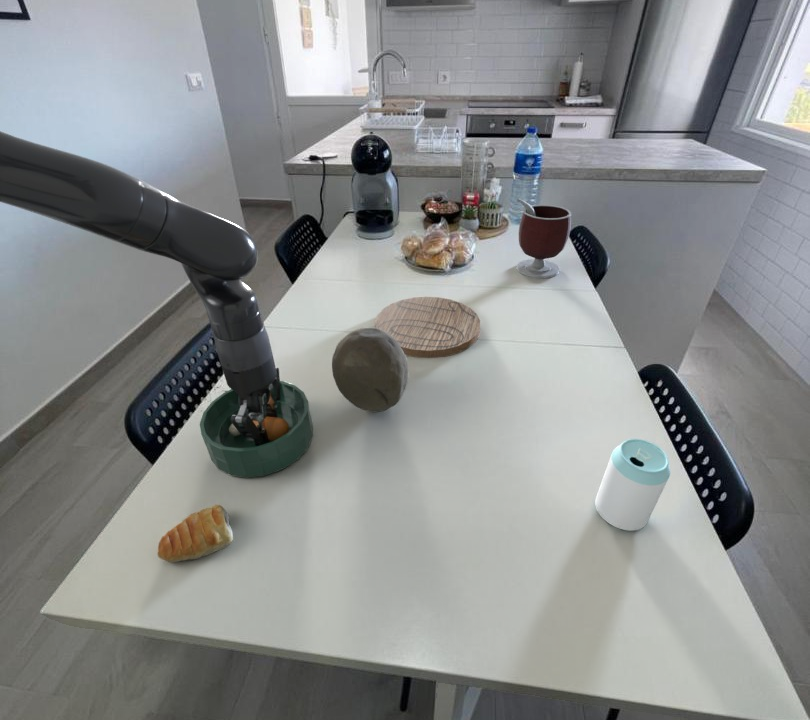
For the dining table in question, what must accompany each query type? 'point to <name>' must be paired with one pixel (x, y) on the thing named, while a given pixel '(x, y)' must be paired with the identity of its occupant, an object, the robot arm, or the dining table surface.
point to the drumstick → (268, 428)
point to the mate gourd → (542, 238)
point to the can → (632, 484)
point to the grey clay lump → (370, 369)
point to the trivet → (430, 326)
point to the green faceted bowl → (241, 451)
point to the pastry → (197, 535)
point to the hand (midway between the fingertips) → (268, 435)
